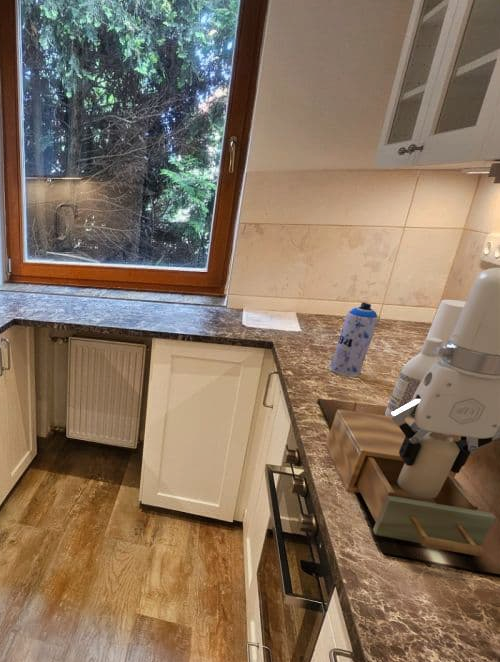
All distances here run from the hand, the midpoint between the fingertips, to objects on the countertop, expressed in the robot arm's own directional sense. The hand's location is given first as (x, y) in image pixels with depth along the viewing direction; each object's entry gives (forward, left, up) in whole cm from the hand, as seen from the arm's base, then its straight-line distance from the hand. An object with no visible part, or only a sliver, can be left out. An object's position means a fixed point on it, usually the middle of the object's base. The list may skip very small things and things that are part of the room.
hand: (428, 463), depth 74 cm
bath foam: (-13, -39, -11) cm, 43 cm away
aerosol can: (-8, -67, -11) cm, 69 cm away
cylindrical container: (-22, -53, -11) cm, 59 cm away
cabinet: (0, -13, -11) cm, 17 cm away
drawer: (0, +3, -10) cm, 11 cm away
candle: (0, 0, -5) cm, 5 cm away
